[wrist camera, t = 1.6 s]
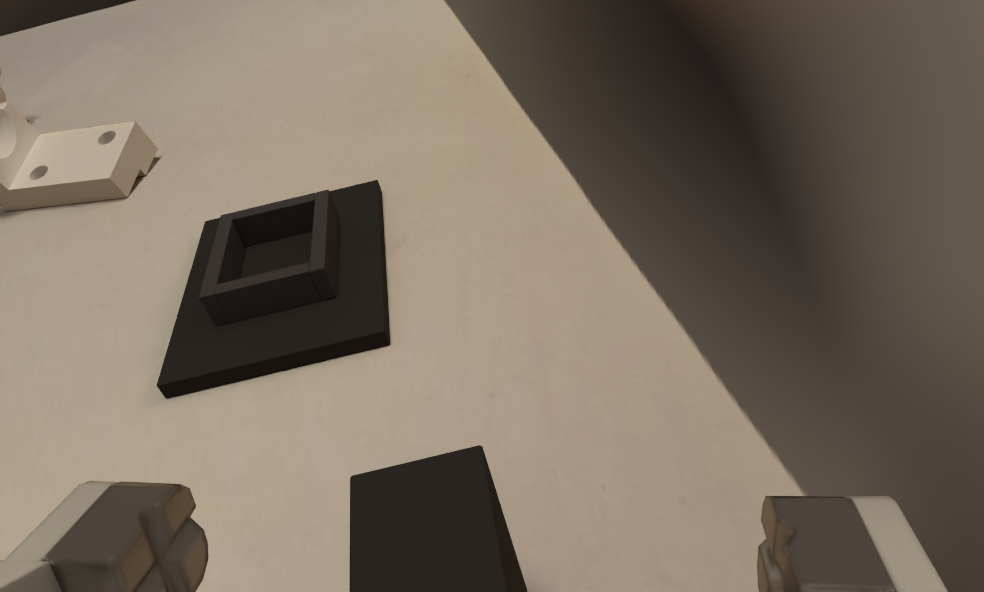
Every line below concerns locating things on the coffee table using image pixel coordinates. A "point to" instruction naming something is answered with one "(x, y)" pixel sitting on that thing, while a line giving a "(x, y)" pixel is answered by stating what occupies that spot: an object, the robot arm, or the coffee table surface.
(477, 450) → the pad block
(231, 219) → the base pad
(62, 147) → the bracket
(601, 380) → the coffee table surface
